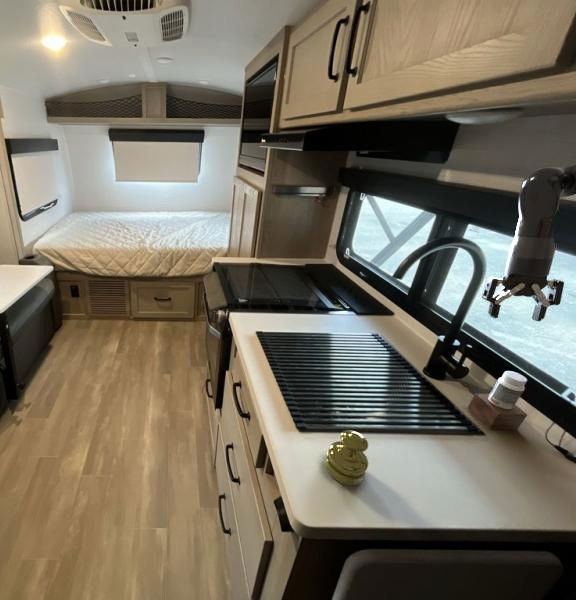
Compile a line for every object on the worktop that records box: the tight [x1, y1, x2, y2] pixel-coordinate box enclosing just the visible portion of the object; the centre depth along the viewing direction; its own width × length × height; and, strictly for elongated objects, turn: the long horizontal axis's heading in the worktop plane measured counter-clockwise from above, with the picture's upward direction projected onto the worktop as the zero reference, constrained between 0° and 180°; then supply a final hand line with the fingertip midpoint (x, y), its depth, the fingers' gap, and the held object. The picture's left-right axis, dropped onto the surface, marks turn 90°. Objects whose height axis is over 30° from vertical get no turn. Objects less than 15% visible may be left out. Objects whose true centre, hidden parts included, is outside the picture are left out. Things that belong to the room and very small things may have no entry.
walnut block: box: [467, 393, 528, 431], centre depth 84 cm, size 7×7×5 cm
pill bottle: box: [488, 370, 528, 409], centre depth 81 cm, size 5×5×8 cm
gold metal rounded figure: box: [324, 429, 369, 486], centre depth 68 cm, size 7×7×10 cm
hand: (514, 318), depth 85 cm, fingers open, 8 cm apart
